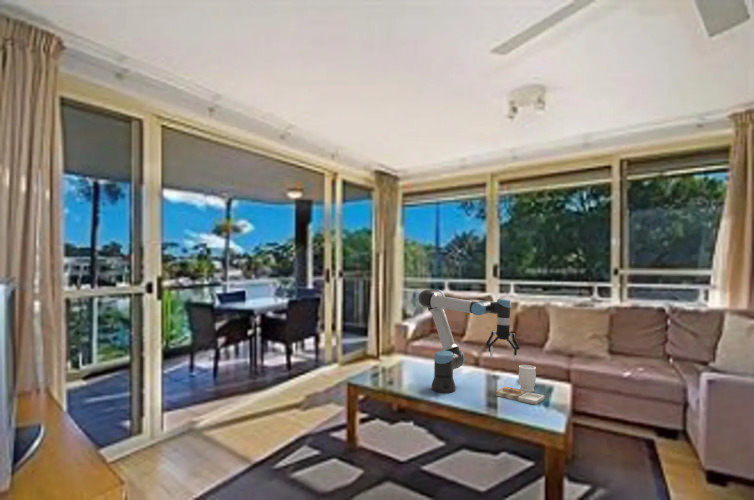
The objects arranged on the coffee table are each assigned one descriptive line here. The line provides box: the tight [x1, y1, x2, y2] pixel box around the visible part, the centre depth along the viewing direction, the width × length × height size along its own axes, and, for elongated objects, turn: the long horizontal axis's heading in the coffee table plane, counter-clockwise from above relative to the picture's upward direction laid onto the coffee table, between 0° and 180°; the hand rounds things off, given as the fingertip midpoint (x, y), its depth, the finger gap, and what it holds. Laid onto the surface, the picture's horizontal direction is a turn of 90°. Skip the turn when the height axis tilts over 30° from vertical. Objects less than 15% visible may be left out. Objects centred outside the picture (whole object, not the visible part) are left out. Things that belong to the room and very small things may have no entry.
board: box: [495, 387, 527, 401], centre depth 268 cm, size 14×12×2 cm
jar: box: [518, 364, 537, 393], centre depth 280 cm, size 11×10×15 cm
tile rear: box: [502, 386, 514, 392], centre depth 269 cm, size 4×4×2 cm
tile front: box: [511, 387, 522, 394], centre depth 266 cm, size 4×4×2 cm
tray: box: [517, 392, 546, 406], centre depth 260 cm, size 10×14×2 cm
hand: (502, 358), depth 271 cm, fingers open, 13 cm apart
